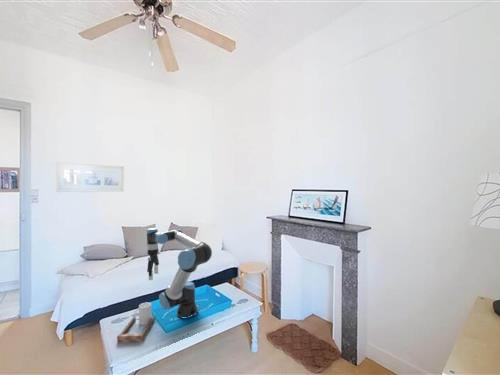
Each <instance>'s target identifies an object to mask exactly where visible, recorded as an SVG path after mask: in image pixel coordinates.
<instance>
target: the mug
mask: <svg viewBox="0 0 500 375" xmlns="http://www.w3.org/2000/svg"><path fill="white" fill-rule="evenodd" d="M136 312H138V317H139V318H137V317H136V316H135V314H136ZM152 316H153V314H152V303H151V302H147V301H146V302H142V303H140V304H139V305H138V308H137V309H136V310H134V312H133V317H134V318H135V317H136V318H135V319H136V321H139V322H138V324H139V325H141V326H147V324H148V323H149V321H150V320H151V318H152Z"/></svg>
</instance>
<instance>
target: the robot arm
mask: <svg viewBox="0 0 500 375" xmlns="http://www.w3.org/2000/svg"><path fill="white" fill-rule="evenodd" d="M146 239H147V240H146V246H147V255H148V256H149V257H148V258H147V261H148V262H147V270H146V272H147V273H148V281H153V280H154V278H153V276H154V275H155V274H159V266H160V261H159V256H158V253H159V245H164V244H166V243H168V242H171V241H175V242H176V243H178V244H179V245H182V247H185V248H186V249H184V250H181V251H180V252H179V253H178V255H177V264H178V266H179V267H178V270H177V272H176V273H175V275H174V278H173V280H172V282H171V283H170V285H167V287H166V289H165V290H164V291H163V292H160V293H159V297H158V299H159V300H158V301H159V304H160V306H161V308H162V309H163V310H170V309H172V308H174V307H176V306H178V307H177V311H176V316H177V317H178V316H179V317H188V316H191V315H194V314H195V313H197V312H199V310H198V306H197V302H196V287H195V286H196V285H195V283H194V282H192V281H188V280H189V278H190V276H191V275H192V273H194V272H195V271H196V270H197V268H198V266H200V265H202V264H205V263H207V262H209V261H210V260H211V258H212V255H213V252H212V248H211V246H210V245H209V244H207V243H206V242H203V241H199V240H197V239H195V238H192V237H191V236H188V235H187V234H185V233H184V232H183V231H182V229H179V228H177V229H173V230H167V231H162V232H159V231H158V229H157V227H153V228H148V229H147V230H146ZM153 269H154V270H153ZM153 272H154V273H153ZM197 314H198V313H197ZM179 317H178V318H179Z"/></svg>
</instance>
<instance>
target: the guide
mask: <svg viewBox="0 0 500 375" xmlns="http://www.w3.org/2000/svg"><path fill="white" fill-rule="evenodd" d="M135 318H137V317H136V316H135ZM135 318H134V316H133V317H132V318H131V319H130V321H129V322H128V324H127V325H126V326H125V327H124V329H123V330H122V331H121V333H119V334H117V336H116V338H117V340H116V342H117V344H120V343H121V344H122V343H124V344H126V343H143V341H144V339H145V338H146V336H147V334H148V333H149V330H150V329H151V328H152V326H153V324H154V323H155V320H156V316H153V315H152V318H151V320H150V321H149V323H148V324H146V325H145V327H144V329H143V331H142V332H141V333H128V332H129V331H130V330H131V328H132V327H133V325H134V324H135V323H136V321H137V320H136V319H135ZM127 333H128V334H127Z"/></svg>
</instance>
